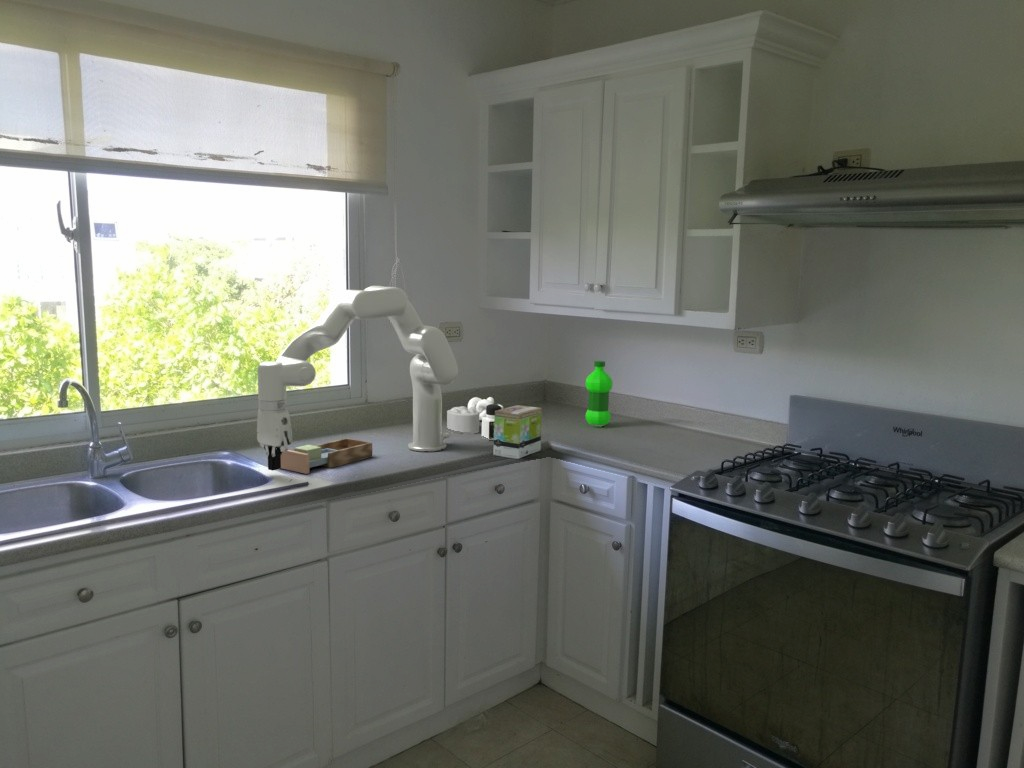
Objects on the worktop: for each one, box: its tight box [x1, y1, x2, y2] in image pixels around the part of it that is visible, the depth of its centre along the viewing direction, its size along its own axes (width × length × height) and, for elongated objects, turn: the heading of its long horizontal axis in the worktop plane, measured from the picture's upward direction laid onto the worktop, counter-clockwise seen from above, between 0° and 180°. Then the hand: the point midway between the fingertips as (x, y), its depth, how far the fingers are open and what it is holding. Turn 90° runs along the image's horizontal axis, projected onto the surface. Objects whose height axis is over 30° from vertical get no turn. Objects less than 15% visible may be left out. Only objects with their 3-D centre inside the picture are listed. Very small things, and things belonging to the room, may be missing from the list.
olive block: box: [293, 444, 321, 461], centre depth 235 cm, size 6×6×4 cm
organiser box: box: [314, 437, 373, 469], centre depth 245 cm, size 18×11×4 cm, turn 146°
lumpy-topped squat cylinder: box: [446, 405, 480, 432], centre depth 291 cm, size 10×13×9 cm
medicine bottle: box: [481, 403, 504, 439], centre depth 279 cm, size 7×7×12 cm
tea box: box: [492, 404, 543, 460], centre depth 257 cm, size 15×10×15 cm, turn 151°
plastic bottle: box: [585, 360, 613, 426], centre depth 302 cm, size 10×10×25 cm
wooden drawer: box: [280, 448, 338, 475], centre depth 237 cm, size 18×12×6 cm, turn 146°
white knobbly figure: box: [467, 396, 495, 420], centre depth 312 cm, size 11×12×9 cm
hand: (274, 469), depth 225 cm, fingers closed
